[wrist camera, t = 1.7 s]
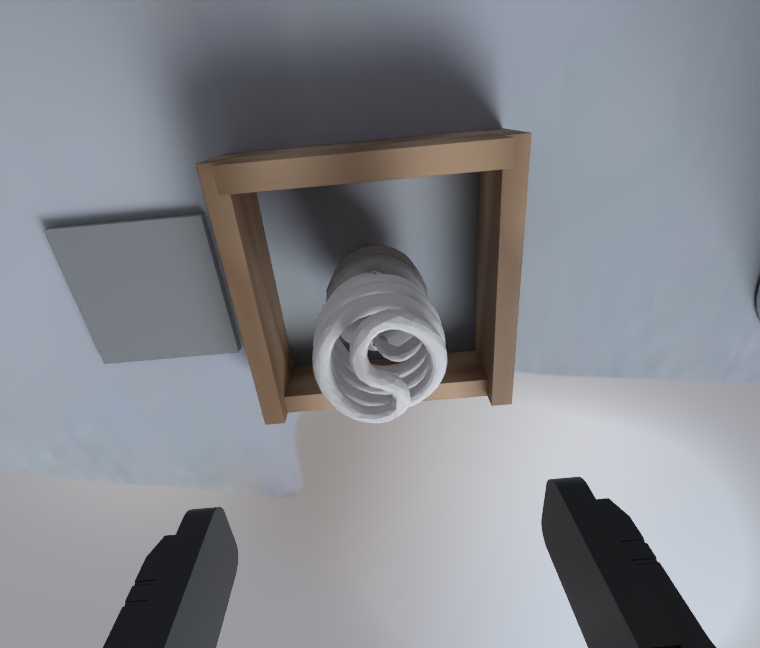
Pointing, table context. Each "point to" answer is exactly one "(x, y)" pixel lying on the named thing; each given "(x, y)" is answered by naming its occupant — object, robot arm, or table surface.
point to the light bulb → (378, 336)
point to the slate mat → (147, 287)
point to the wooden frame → (365, 164)
